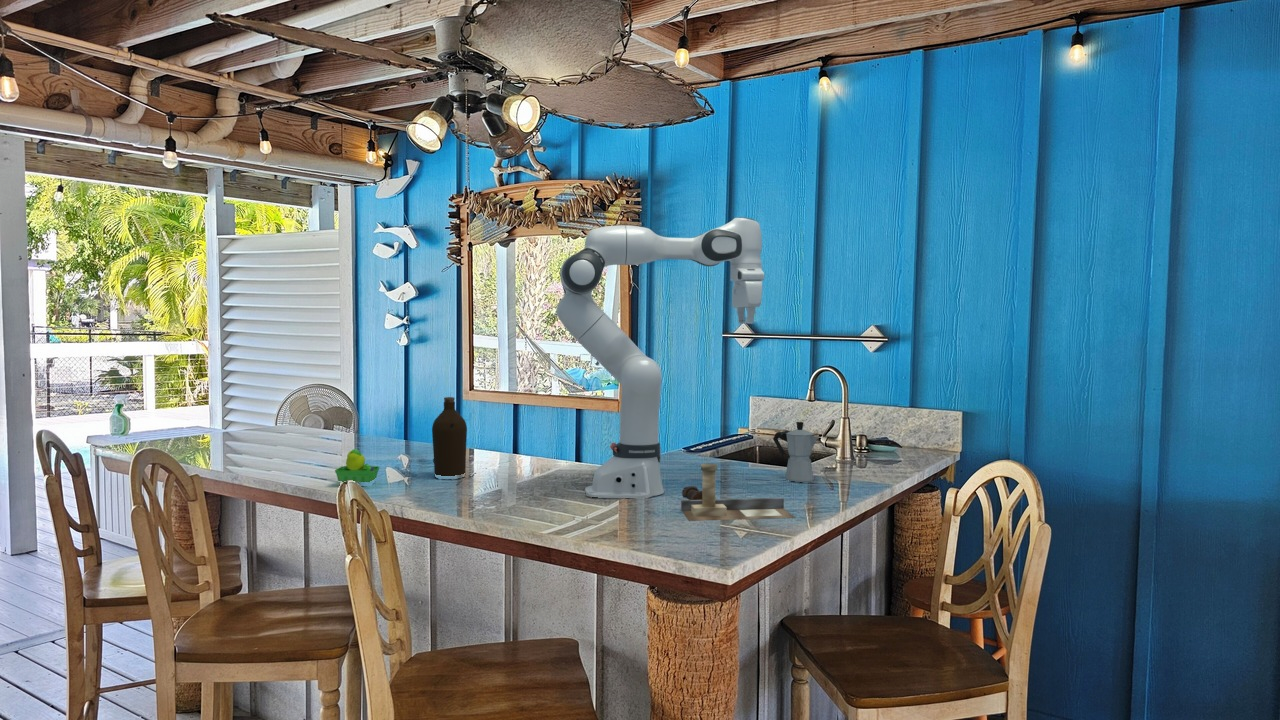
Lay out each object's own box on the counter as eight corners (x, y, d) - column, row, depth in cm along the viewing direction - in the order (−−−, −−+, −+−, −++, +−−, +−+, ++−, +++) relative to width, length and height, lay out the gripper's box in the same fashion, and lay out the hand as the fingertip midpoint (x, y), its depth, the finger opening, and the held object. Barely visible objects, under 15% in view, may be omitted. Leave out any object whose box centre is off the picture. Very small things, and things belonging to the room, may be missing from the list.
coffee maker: (824, 480, 255) (824, 421, 254) (814, 484, 248) (815, 424, 247) (778, 475, 263) (778, 418, 262) (767, 479, 255) (768, 421, 255)
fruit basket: (380, 482, 251) (380, 445, 251) (372, 488, 243) (371, 450, 242) (342, 482, 251) (341, 445, 250) (332, 488, 242) (332, 450, 242)
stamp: (694, 516, 201) (694, 466, 200) (691, 512, 205) (691, 463, 204) (726, 515, 202) (726, 465, 201) (723, 511, 206) (723, 462, 205)
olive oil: (474, 476, 260) (473, 397, 259) (447, 481, 252) (446, 399, 251) (452, 472, 267) (451, 395, 266) (425, 477, 259) (424, 397, 258)
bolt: (690, 505, 229) (704, 516, 214) (674, 497, 228) (687, 507, 213) (700, 486, 229) (715, 496, 214) (684, 478, 228) (698, 487, 213)
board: (688, 527, 197) (688, 510, 196) (680, 515, 209) (680, 499, 208) (795, 523, 200) (795, 507, 200) (781, 512, 212) (781, 496, 211)
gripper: (727, 277, 247) (726, 323, 248) (743, 273, 227) (743, 323, 228) (747, 277, 248) (747, 323, 249) (766, 273, 228) (765, 323, 228)
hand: (745, 323), depth 238 cm, fingers open, 8 cm apart
